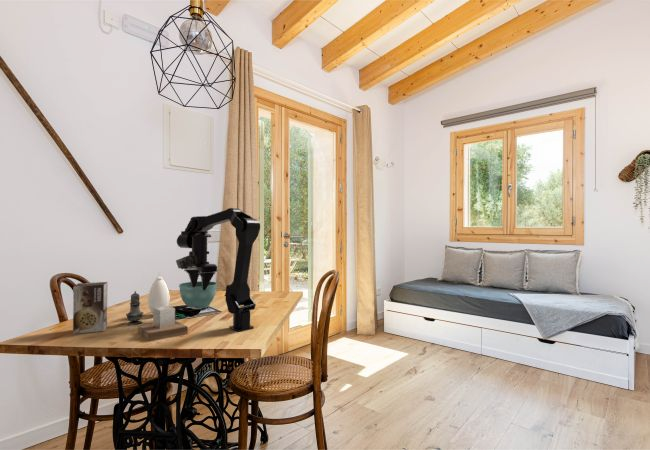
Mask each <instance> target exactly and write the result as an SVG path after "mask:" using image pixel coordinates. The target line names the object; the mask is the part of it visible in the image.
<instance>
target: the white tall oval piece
mask: <svg viewBox="0 0 650 450" xmlns="http://www.w3.org/2000/svg"><path fill="white" fill-rule="evenodd" d="M170 297H171V296H170V291H169V288H168V285H167V283H166V282H165V280H164V278H163V277H162V276H161V271H160V270H159V271H158V276H157V277H155V280H154V281H153V283H152V284H151V286H150V289H149V292H148V297H147V305H148V308H149V310H150V312H151V313H152V314H153V311H154V308H158V307H164V306H170V299H171V298H170Z"/></svg>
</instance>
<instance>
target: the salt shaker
mask: <svg viewBox="0 0 650 450" xmlns="http://www.w3.org/2000/svg"><path fill="white" fill-rule="evenodd" d="M129 305H130V307H129V308H130V309H129V312H128V313H126V314H125V316H126V319H127V320H128V322H126V325H127V326H139V325H142V324H143V321H142V320H141V319H142V318H143V315H144V312H143V311H141V310H140V305H141V302H140V294H139V293H137V290H135V291H134V293H132V294H131V295H130V303H129Z"/></svg>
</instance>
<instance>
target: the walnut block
mask: <svg viewBox="0 0 650 450" xmlns="http://www.w3.org/2000/svg"><path fill="white" fill-rule="evenodd" d="M188 330H189V329H188V326H187V325H185V324H183V323H181V322H179V321H177V320H175V326H172V327H167V328H162V329H159V328H157V327H154V326H153V322H152V323H147V324H138V325H137V334H138V335H140V336H142V337H143V338H144V339H146V340H147V341H148V342H153V341H154V342H155V341H157V340H158V341H159V340H163V339H164V340H165V339H169V338H174V337H179V336H183V335H188Z"/></svg>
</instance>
